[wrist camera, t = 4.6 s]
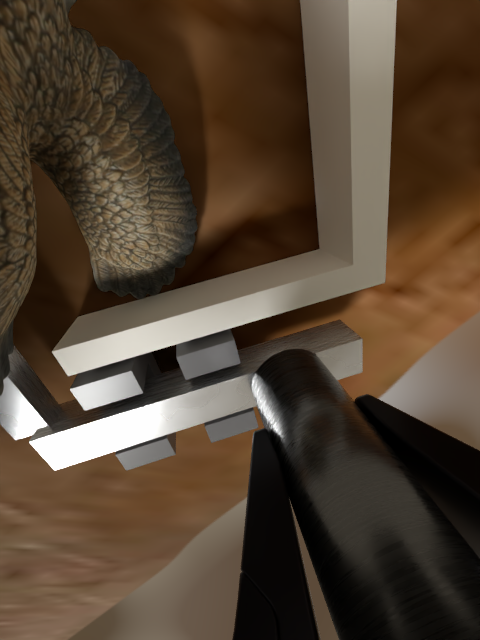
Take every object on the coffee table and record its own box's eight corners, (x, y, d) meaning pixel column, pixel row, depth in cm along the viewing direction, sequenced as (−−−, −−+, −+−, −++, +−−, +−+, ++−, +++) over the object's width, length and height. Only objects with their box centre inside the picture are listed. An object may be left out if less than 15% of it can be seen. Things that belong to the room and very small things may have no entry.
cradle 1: (137, 420, 13) (128, 473, 11) (91, 339, 11) (66, 384, 9) (177, 407, 14) (177, 457, 11) (139, 326, 11) (128, 366, 9)
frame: (90, 338, 11) (68, 376, 9) (-406, -520, 4) (-1136, -1397, 2) (347, 264, 12) (385, 282, 10) (322, -555, 5) (445, -1181, 3)
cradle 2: (206, 398, 14) (212, 445, 11) (175, 315, 11) (174, 352, 9) (244, 386, 14) (259, 430, 11) (221, 302, 12) (233, 334, 9)
